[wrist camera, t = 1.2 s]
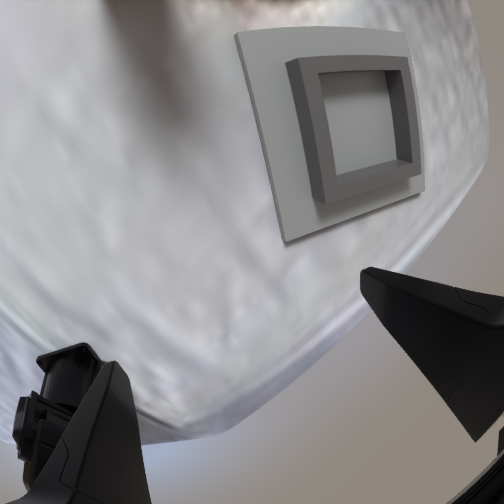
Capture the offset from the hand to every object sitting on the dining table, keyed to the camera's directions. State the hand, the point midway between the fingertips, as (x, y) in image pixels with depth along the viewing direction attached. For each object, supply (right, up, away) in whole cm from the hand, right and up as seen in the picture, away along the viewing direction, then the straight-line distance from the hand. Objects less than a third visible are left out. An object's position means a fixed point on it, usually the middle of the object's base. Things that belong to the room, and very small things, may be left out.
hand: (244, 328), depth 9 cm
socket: (+8, +13, +12) cm, 19 cm away
